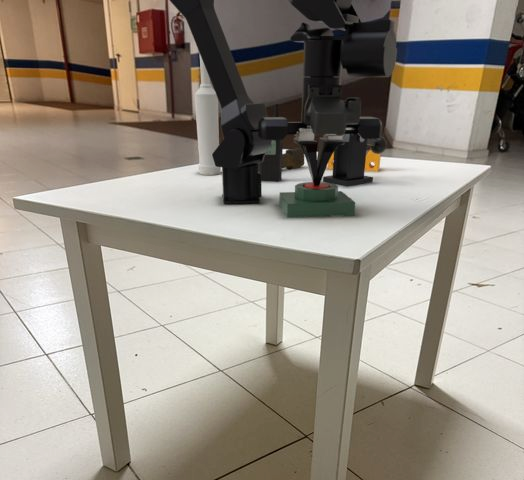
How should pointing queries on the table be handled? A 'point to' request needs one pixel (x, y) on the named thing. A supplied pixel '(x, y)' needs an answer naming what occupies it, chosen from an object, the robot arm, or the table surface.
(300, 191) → the button box
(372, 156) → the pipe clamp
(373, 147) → the lever
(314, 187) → the button
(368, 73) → the robot arm
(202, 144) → the bottle
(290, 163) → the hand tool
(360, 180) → the bracket
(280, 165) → the walkie-talkie
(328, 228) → the table surface
